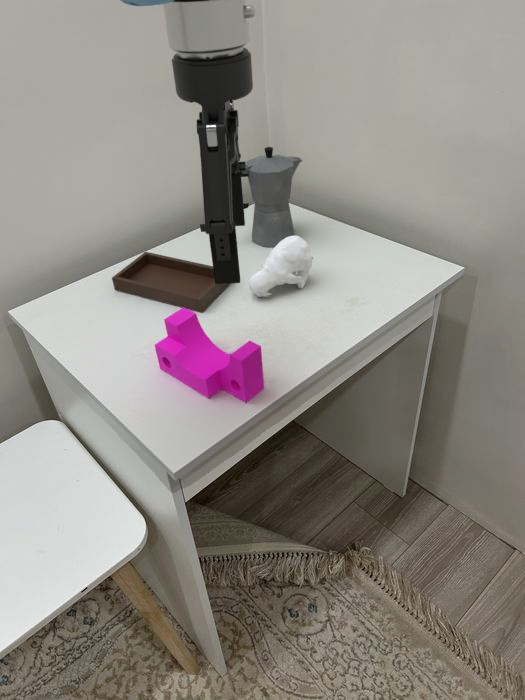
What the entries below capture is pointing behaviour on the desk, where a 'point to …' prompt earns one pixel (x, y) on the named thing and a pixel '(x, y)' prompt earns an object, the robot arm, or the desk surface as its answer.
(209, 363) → the magenta curved bracket
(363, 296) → the desk surface
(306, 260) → the white lumpy piece
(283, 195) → the coffeepot
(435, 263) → the desk surface
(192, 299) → the dark brown rectangular tray
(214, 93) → the robot arm
